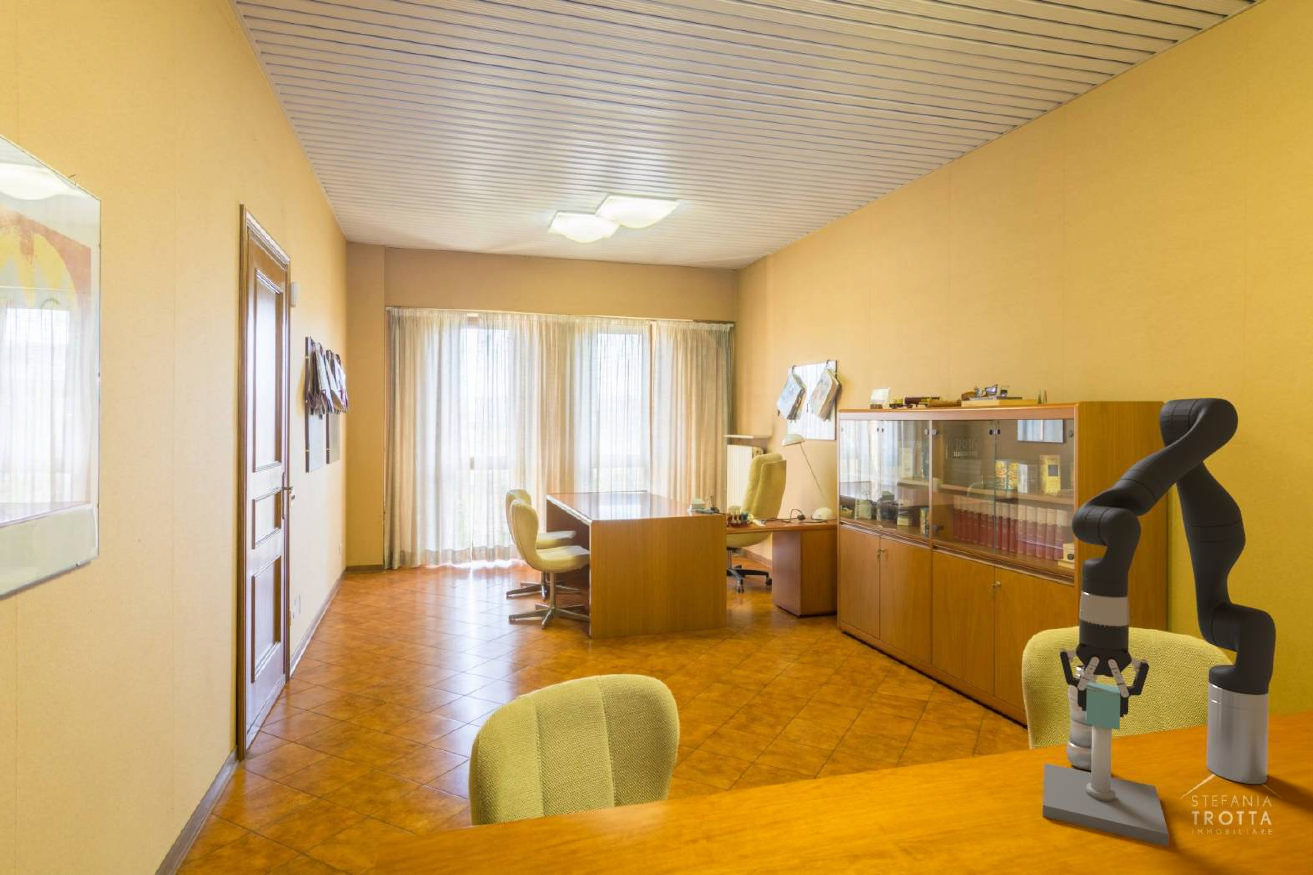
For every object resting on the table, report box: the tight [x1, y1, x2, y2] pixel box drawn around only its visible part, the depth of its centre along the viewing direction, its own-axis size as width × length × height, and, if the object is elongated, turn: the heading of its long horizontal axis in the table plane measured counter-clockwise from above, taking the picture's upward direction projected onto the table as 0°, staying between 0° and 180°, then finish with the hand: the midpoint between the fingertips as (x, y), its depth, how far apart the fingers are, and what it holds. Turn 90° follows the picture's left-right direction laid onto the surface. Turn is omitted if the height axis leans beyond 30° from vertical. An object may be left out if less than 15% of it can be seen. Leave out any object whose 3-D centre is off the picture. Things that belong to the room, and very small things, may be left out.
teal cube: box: [1085, 682, 1121, 731], centre depth 129 cm, size 5×5×6 cm
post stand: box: [1042, 725, 1170, 847], centre depth 129 cm, size 18×18×18 cm
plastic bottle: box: [1065, 664, 1099, 771], centre depth 144 cm, size 6×7×20 cm
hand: (1102, 712), depth 129 cm, fingers closed on teal cube, 5 cm apart
